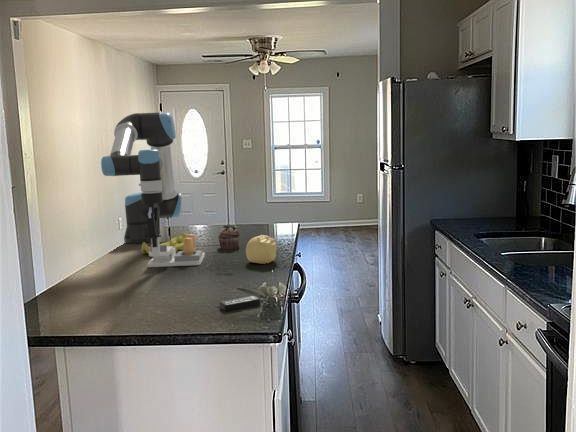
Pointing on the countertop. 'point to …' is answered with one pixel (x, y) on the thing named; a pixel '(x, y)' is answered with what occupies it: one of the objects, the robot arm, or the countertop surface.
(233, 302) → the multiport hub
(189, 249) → the peg
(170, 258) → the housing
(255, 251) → the sculpture
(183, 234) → the plastic component
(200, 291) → the countertop surface
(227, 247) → the cupcake
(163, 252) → the lid
